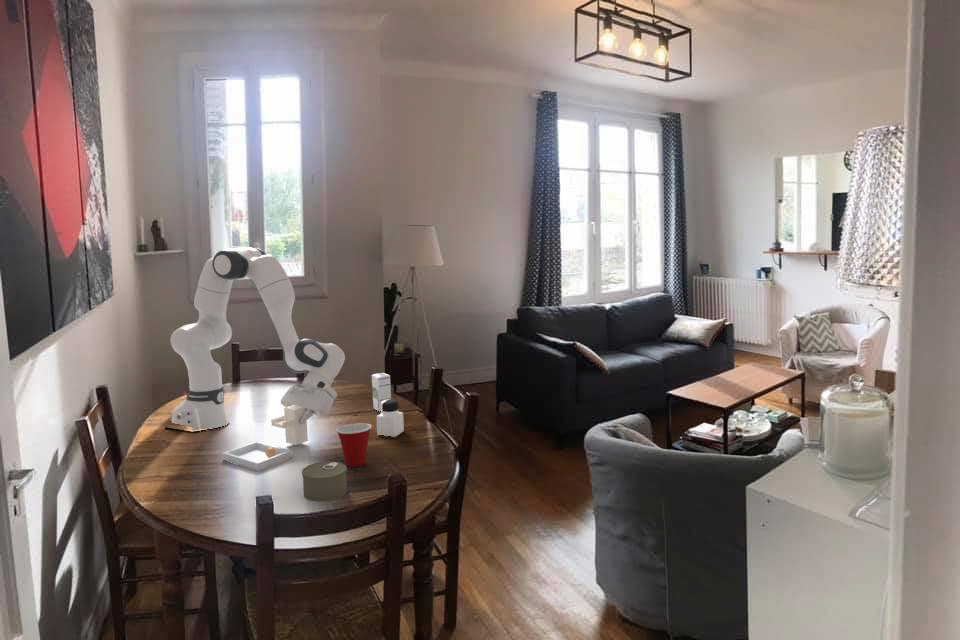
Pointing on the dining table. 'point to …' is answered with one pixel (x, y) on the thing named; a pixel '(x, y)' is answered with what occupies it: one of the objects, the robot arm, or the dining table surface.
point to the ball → (270, 452)
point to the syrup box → (380, 389)
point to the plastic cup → (354, 443)
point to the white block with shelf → (292, 424)
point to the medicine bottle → (390, 419)
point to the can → (324, 481)
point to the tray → (256, 456)
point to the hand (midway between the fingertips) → (294, 421)
